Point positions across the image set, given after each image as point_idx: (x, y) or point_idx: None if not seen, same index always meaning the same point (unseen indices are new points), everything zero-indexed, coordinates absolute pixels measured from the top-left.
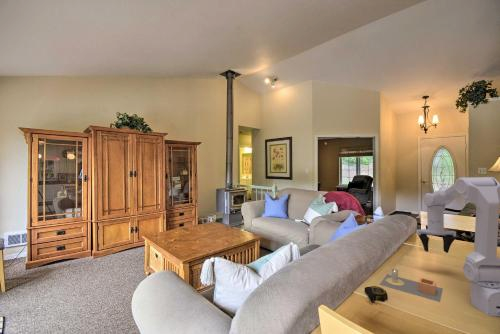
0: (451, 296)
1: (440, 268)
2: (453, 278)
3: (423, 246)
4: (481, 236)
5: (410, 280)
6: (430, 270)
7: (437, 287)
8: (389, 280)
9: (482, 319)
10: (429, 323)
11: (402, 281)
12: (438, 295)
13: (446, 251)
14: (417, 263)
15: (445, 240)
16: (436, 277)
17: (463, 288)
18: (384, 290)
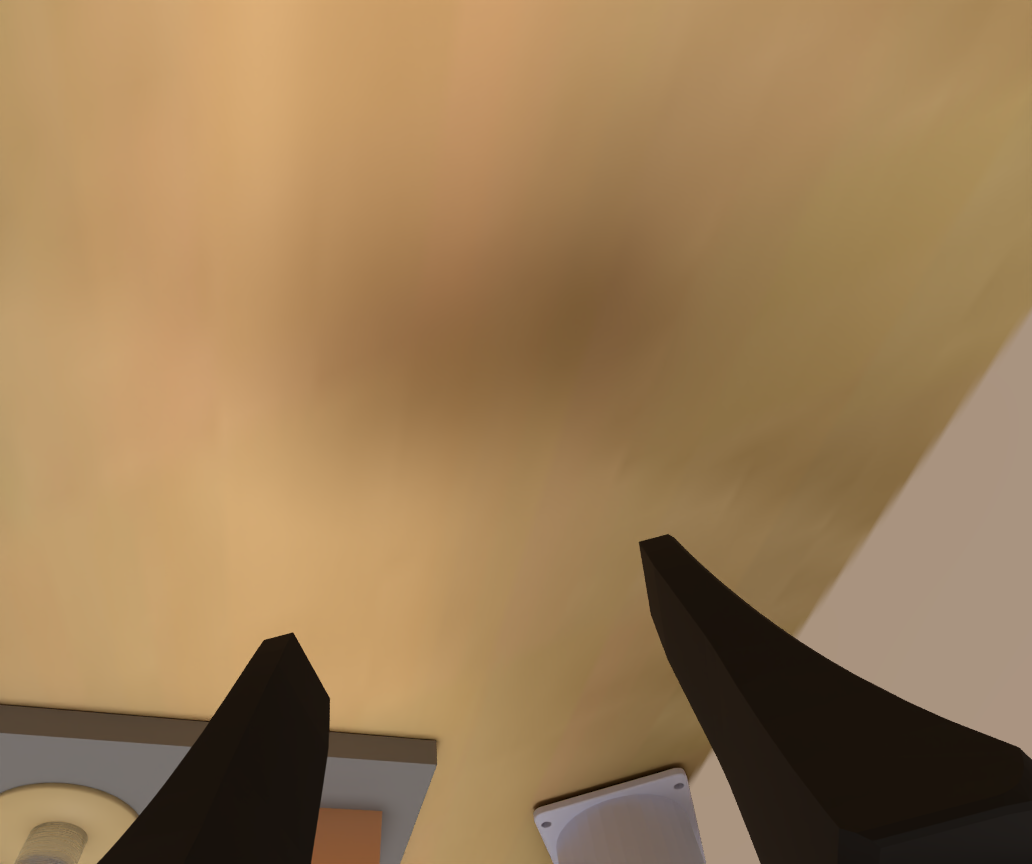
0: (477, 774)
1: (554, 168)
2: (605, 457)
3: (225, 710)
4: None
5: (183, 753)
6: (402, 317)
7: (398, 768)
8: (9, 841)
9: None
10: None
11: (119, 813)
12: (385, 859)
13: (659, 633)
14: (228, 59)
15: (769, 825)
16: (437, 506)
17: (610, 629)
18: None
